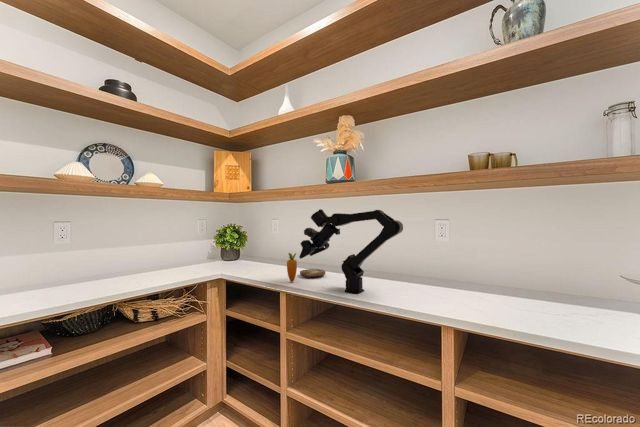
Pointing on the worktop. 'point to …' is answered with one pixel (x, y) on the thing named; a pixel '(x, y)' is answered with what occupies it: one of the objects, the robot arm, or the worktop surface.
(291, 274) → the carrot
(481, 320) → the worktop surface
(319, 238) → the robot arm
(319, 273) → the walnut base
